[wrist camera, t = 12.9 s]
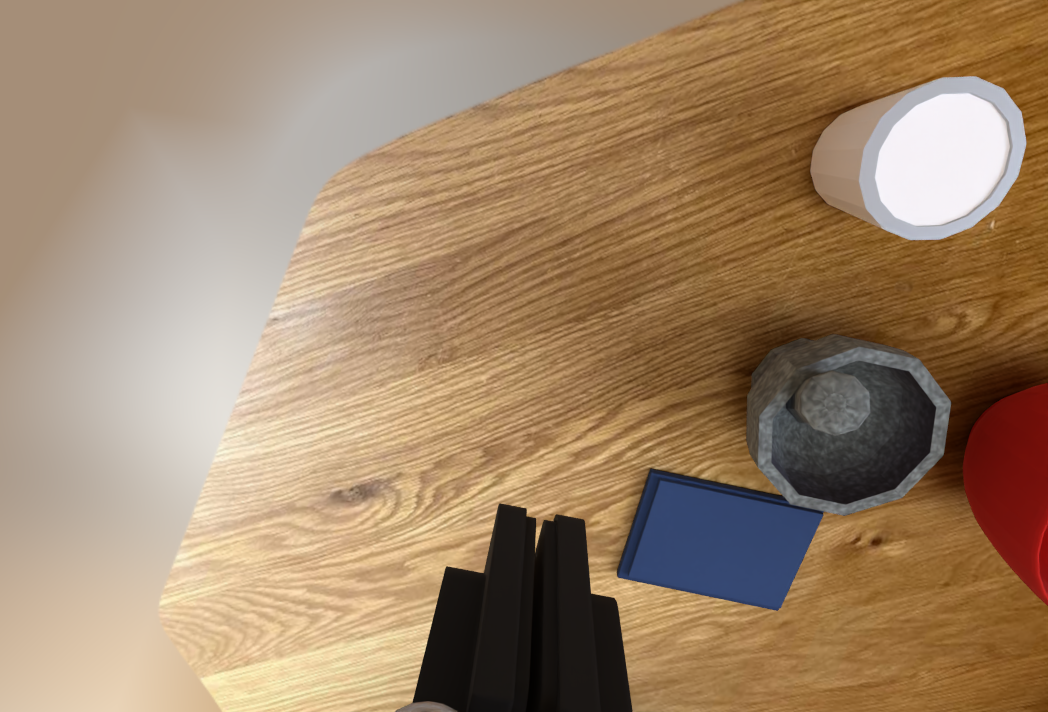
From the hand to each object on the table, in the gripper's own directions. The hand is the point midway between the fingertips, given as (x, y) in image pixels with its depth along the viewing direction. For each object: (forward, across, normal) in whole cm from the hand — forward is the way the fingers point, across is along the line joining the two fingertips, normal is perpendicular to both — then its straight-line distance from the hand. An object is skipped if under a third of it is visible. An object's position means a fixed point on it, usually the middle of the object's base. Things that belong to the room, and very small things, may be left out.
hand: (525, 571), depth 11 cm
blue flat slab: (+25, -16, +16) cm, 34 cm away
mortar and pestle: (+25, -17, +3) cm, 30 cm away
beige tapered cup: (+26, -16, -10) cm, 32 cm away
